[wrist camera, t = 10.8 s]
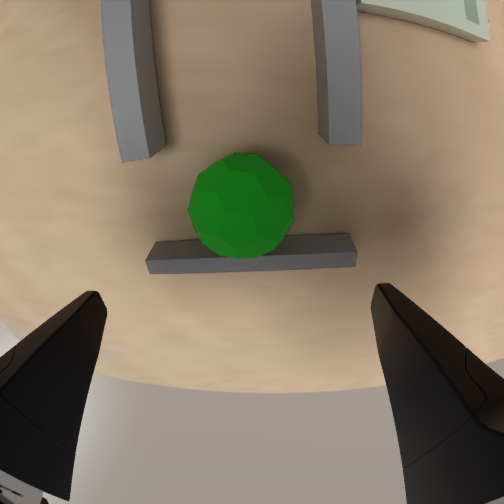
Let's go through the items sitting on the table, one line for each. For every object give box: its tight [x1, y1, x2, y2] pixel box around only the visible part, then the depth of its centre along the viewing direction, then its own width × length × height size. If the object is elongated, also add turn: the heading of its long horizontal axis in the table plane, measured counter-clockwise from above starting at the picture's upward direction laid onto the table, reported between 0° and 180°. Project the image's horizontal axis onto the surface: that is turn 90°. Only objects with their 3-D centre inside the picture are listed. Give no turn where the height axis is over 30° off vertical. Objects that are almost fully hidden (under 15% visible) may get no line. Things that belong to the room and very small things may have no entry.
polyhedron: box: [188, 153, 294, 259], centre depth 14 cm, size 5×5×5 cm
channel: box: [101, 0, 362, 274], centre depth 12 cm, size 18×12×2 cm
